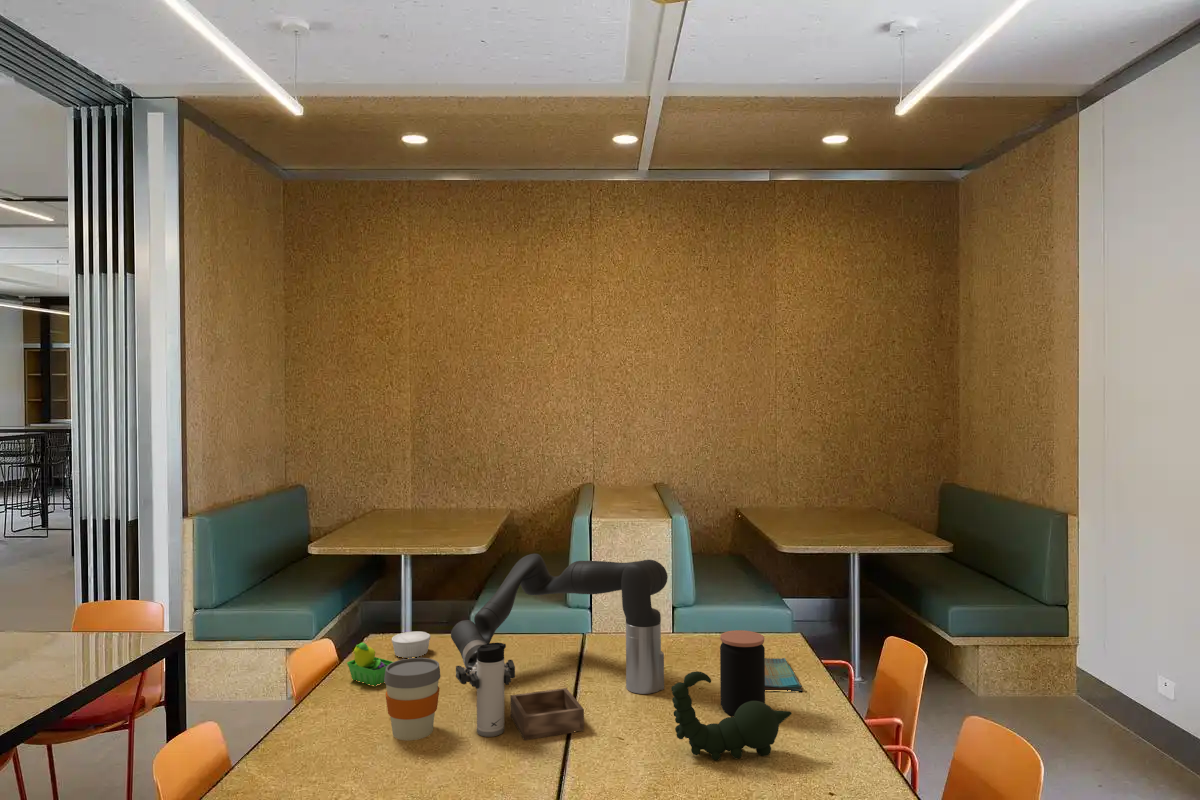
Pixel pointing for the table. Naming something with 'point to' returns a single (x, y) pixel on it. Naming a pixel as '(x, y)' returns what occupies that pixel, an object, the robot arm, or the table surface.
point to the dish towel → (780, 675)
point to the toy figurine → (725, 724)
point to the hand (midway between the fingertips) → (492, 682)
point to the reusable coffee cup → (412, 696)
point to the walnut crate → (546, 713)
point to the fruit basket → (367, 665)
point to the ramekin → (411, 644)
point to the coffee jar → (741, 669)
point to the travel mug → (490, 689)
